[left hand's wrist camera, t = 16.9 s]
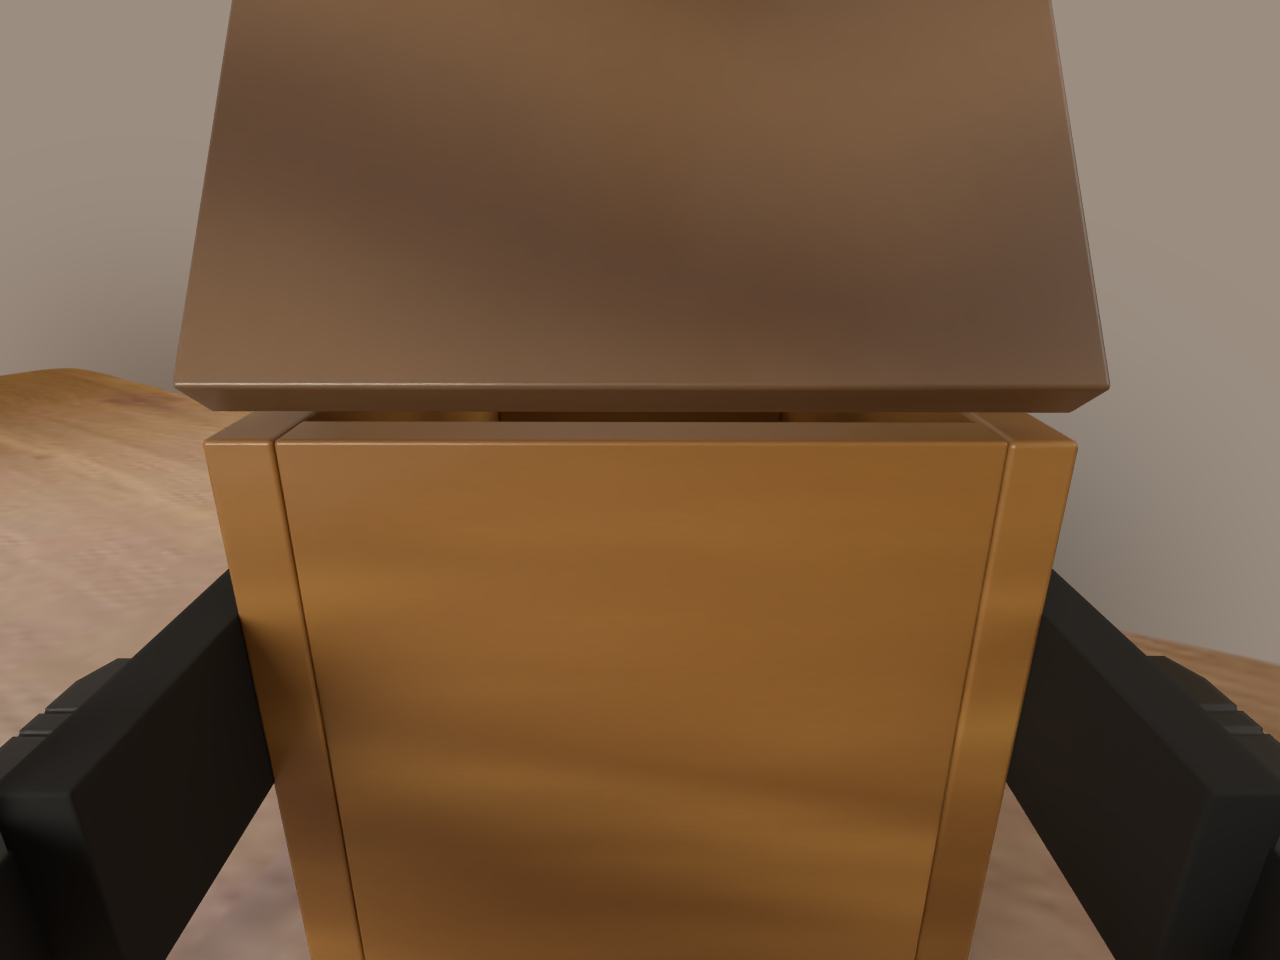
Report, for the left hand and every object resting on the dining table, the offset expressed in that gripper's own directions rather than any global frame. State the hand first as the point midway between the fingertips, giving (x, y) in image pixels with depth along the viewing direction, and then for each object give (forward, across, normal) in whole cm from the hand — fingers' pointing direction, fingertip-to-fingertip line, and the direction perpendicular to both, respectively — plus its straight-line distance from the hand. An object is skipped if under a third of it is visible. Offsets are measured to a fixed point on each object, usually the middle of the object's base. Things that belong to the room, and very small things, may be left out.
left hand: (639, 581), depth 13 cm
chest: (+4, 0, -7) cm, 8 cm away
